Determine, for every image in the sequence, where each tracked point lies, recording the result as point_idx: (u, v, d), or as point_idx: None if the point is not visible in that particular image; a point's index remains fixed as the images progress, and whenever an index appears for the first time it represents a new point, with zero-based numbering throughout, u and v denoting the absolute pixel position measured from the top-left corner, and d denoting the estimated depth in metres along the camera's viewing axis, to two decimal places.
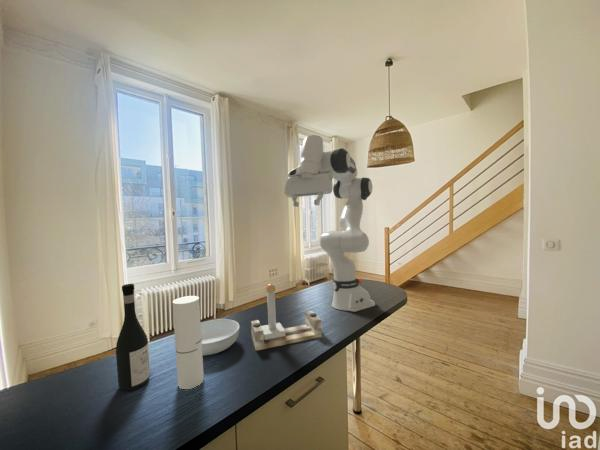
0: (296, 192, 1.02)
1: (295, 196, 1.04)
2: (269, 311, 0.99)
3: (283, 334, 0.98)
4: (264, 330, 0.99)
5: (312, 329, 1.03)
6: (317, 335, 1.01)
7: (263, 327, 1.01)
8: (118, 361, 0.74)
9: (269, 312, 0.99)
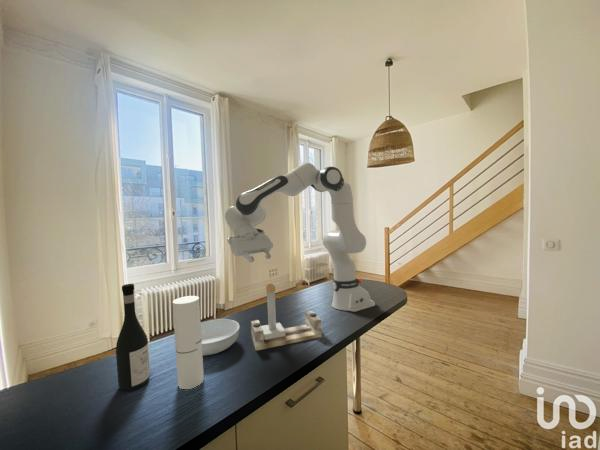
0: None
1: (265, 251, 1.16)
2: (269, 311, 0.99)
3: (283, 334, 0.98)
4: (264, 330, 0.99)
5: (312, 329, 1.03)
6: (317, 335, 1.01)
7: (263, 327, 1.01)
8: (118, 361, 0.74)
9: (269, 312, 0.99)
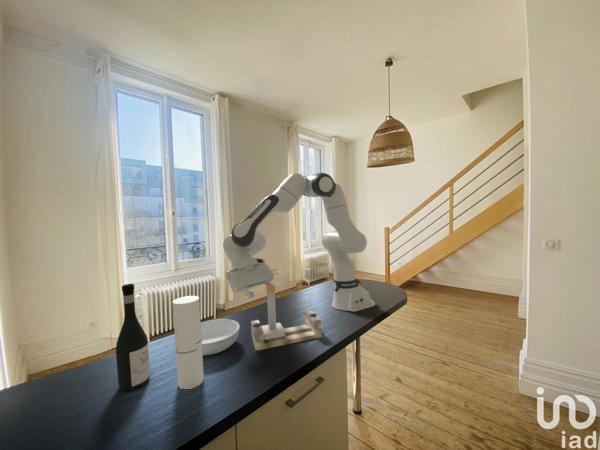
0: None
1: (265, 283, 1.10)
2: (269, 311, 0.99)
3: (283, 334, 0.98)
4: (264, 330, 0.99)
5: (312, 329, 1.03)
6: (317, 335, 1.01)
7: (263, 327, 1.01)
8: (118, 361, 0.74)
9: (269, 312, 0.99)
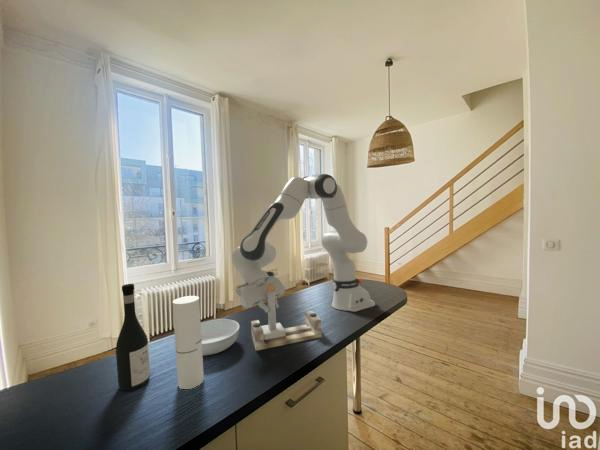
0: None
1: None
2: (269, 311, 0.99)
3: (283, 334, 0.98)
4: (264, 330, 0.99)
5: (312, 329, 1.03)
6: (317, 335, 1.01)
7: (263, 327, 1.01)
8: (118, 361, 0.74)
9: (269, 312, 0.99)
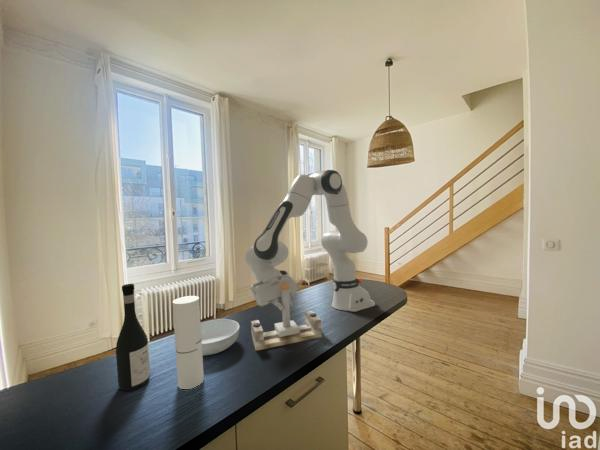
0: None
1: None
2: (283, 309, 1.01)
3: (297, 331, 1.00)
4: (278, 327, 1.01)
5: (312, 329, 1.03)
6: (317, 335, 1.01)
7: (277, 324, 1.03)
8: (118, 361, 0.74)
9: (283, 310, 1.01)
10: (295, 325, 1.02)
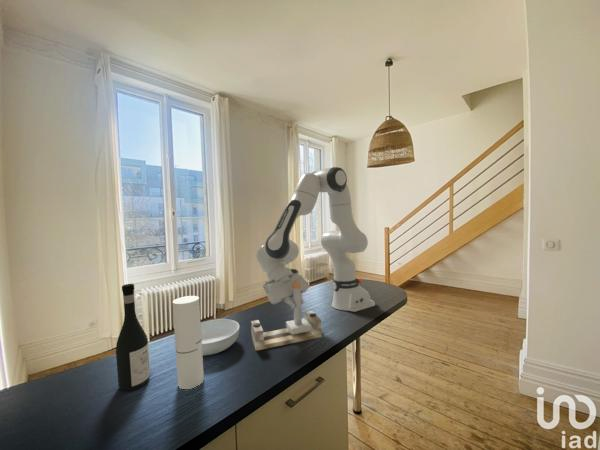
0: None
1: None
2: (295, 307, 1.02)
3: (309, 329, 1.01)
4: (290, 325, 1.02)
5: (312, 329, 1.03)
6: (317, 335, 1.01)
7: (289, 322, 1.05)
8: (118, 361, 0.74)
9: (295, 308, 1.02)
10: (306, 323, 1.04)
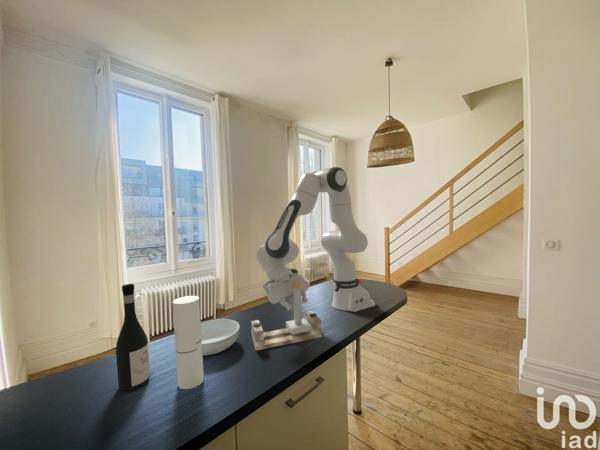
0: None
1: None
2: (295, 307, 1.02)
3: (309, 329, 1.01)
4: (290, 325, 1.02)
5: (312, 329, 1.03)
6: (317, 335, 1.01)
7: (289, 322, 1.05)
8: (118, 361, 0.74)
9: (295, 308, 1.02)
10: (306, 323, 1.04)
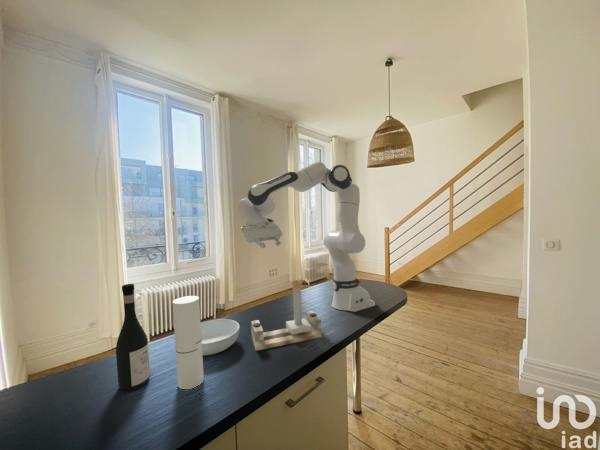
0: None
1: (275, 238, 1.26)
2: (295, 307, 1.02)
3: (309, 329, 1.01)
4: (290, 325, 1.02)
5: (312, 329, 1.03)
6: (317, 335, 1.01)
7: (289, 322, 1.05)
8: (118, 361, 0.74)
9: (295, 308, 1.02)
10: (306, 323, 1.04)
